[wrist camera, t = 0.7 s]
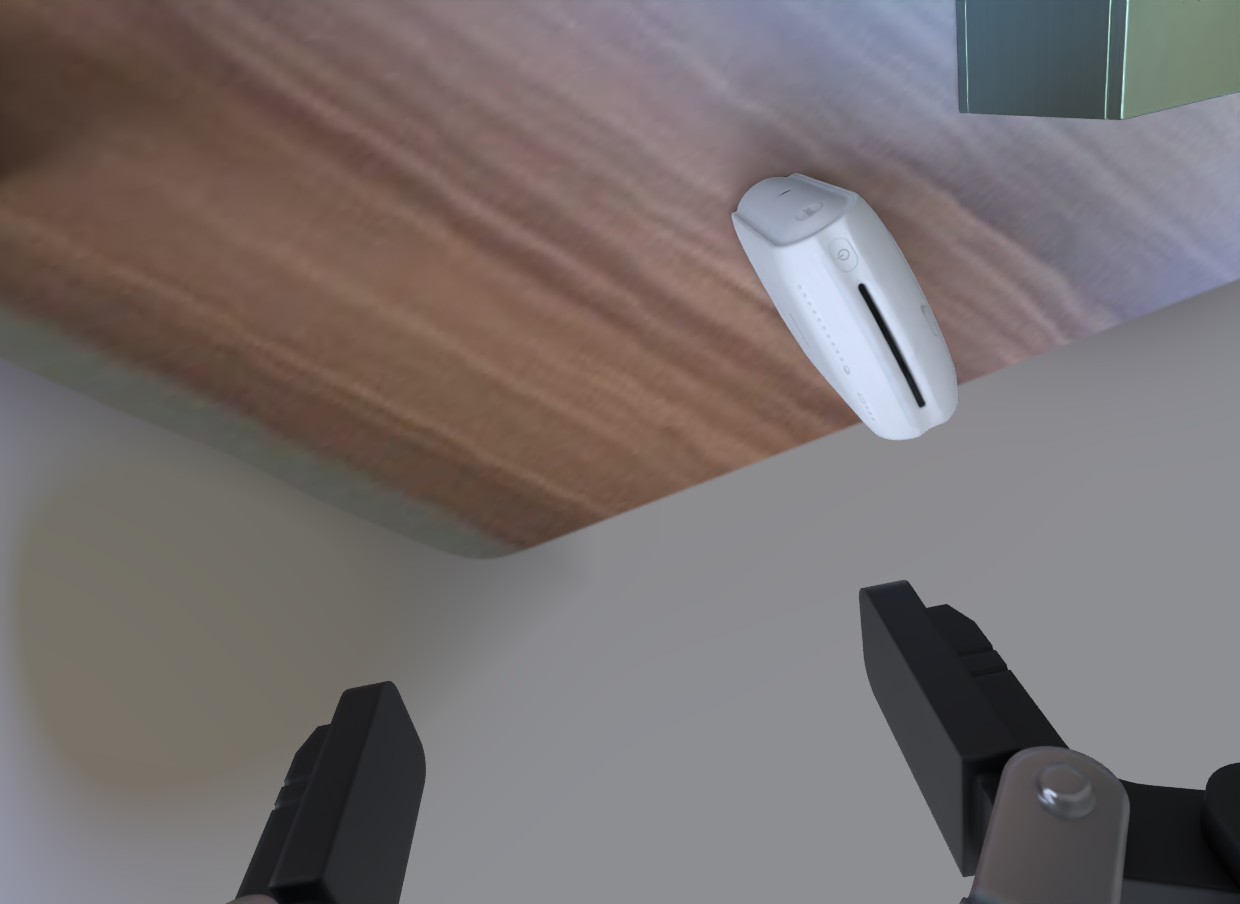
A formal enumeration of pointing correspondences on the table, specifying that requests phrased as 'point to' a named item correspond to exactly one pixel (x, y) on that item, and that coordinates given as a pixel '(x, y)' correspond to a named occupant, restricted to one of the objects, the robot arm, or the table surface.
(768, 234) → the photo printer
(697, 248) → the table surface
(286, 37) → the table surface
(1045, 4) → the box
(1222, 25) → the lid
